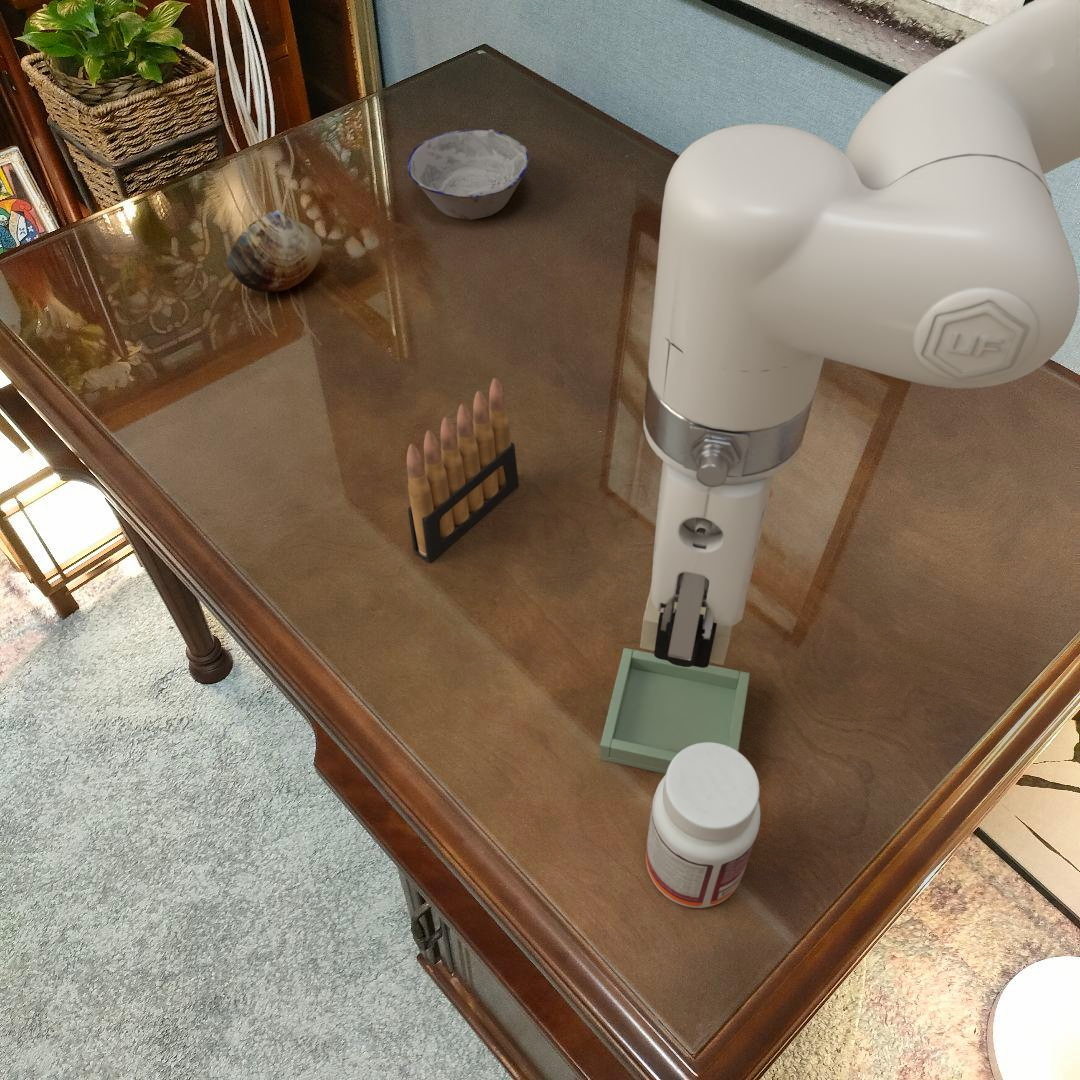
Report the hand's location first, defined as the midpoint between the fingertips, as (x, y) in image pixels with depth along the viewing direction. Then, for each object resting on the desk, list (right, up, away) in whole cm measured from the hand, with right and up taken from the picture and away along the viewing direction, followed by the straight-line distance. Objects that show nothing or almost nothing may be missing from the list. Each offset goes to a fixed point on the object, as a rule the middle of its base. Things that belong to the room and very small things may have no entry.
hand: (688, 624), depth 61 cm
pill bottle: (+1, -15, +3) cm, 16 cm away
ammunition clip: (-15, +7, +22) cm, 27 cm away
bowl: (-16, +42, +50) cm, 68 cm away
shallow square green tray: (0, -8, +9) cm, 12 cm away
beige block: (0, 0, 0) cm, 0 cm away
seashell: (-35, +31, +41) cm, 62 cm away
